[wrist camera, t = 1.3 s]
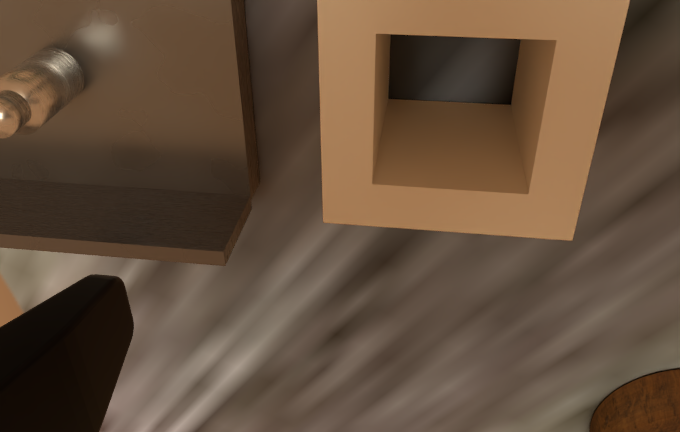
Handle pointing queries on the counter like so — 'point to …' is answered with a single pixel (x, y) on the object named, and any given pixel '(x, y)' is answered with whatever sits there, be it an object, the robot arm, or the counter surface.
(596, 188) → the counter surface
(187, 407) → the counter surface
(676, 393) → the brown pedestal figurine
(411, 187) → the collar
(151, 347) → the counter surface
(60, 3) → the housing base
